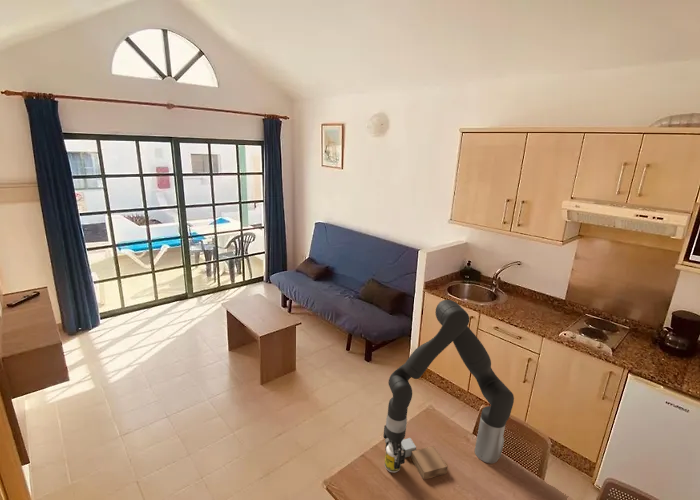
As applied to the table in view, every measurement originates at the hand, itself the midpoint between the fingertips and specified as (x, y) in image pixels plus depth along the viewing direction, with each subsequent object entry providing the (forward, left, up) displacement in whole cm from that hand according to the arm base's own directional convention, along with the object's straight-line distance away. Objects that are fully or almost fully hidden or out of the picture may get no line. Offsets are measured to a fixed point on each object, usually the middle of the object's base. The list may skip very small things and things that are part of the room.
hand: (392, 459), depth 139 cm
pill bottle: (0, 0, -4) cm, 4 cm away
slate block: (-9, -5, -4) cm, 11 cm away
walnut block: (-14, +4, -4) cm, 15 cm away
